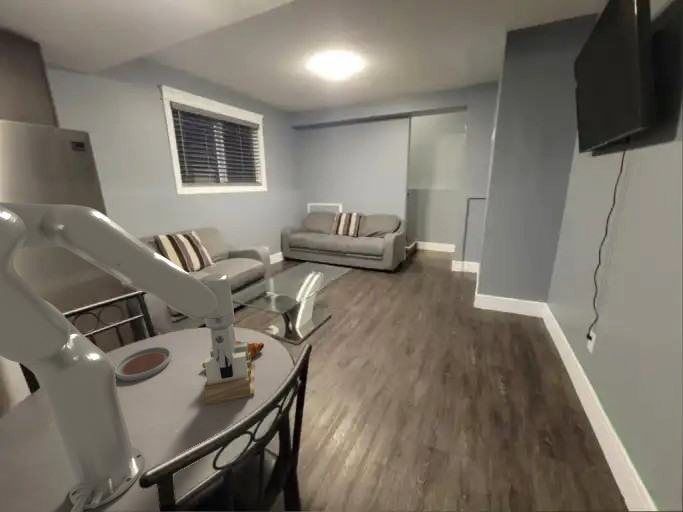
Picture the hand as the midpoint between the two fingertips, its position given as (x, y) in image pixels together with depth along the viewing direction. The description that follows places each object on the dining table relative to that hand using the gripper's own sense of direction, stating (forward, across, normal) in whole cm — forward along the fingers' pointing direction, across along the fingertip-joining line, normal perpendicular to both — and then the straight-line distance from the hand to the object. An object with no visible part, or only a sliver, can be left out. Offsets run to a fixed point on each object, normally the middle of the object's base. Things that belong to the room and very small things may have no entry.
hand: (227, 373), depth 84 cm
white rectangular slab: (+4, 0, 0) cm, 4 cm away
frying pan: (+7, +20, +35) cm, 41 cm away
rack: (+7, +4, 0) cm, 8 cm away
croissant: (+7, +17, 0) cm, 19 cm away
